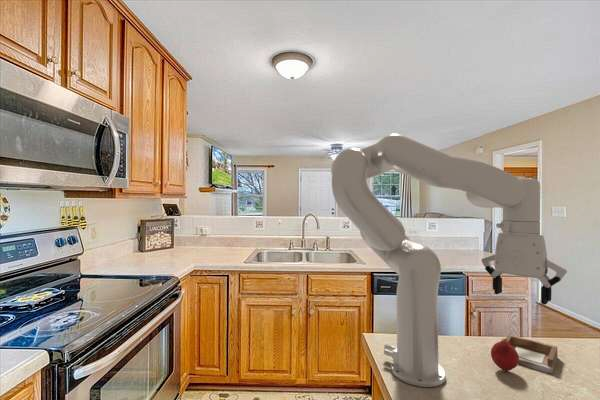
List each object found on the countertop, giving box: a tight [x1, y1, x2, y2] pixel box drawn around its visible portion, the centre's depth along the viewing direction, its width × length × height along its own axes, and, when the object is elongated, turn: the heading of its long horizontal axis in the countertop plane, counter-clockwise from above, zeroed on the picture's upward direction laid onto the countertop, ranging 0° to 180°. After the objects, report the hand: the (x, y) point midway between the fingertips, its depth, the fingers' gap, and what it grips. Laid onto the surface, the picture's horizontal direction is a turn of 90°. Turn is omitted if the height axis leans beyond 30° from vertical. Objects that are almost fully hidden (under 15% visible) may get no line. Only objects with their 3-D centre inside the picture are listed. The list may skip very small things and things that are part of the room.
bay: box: [505, 334, 559, 375], centre depth 82 cm, size 11×11×3 cm
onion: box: [490, 337, 519, 372], centre depth 75 cm, size 6×6×8 cm
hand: (520, 297), depth 75 cm, fingers open, 9 cm apart
